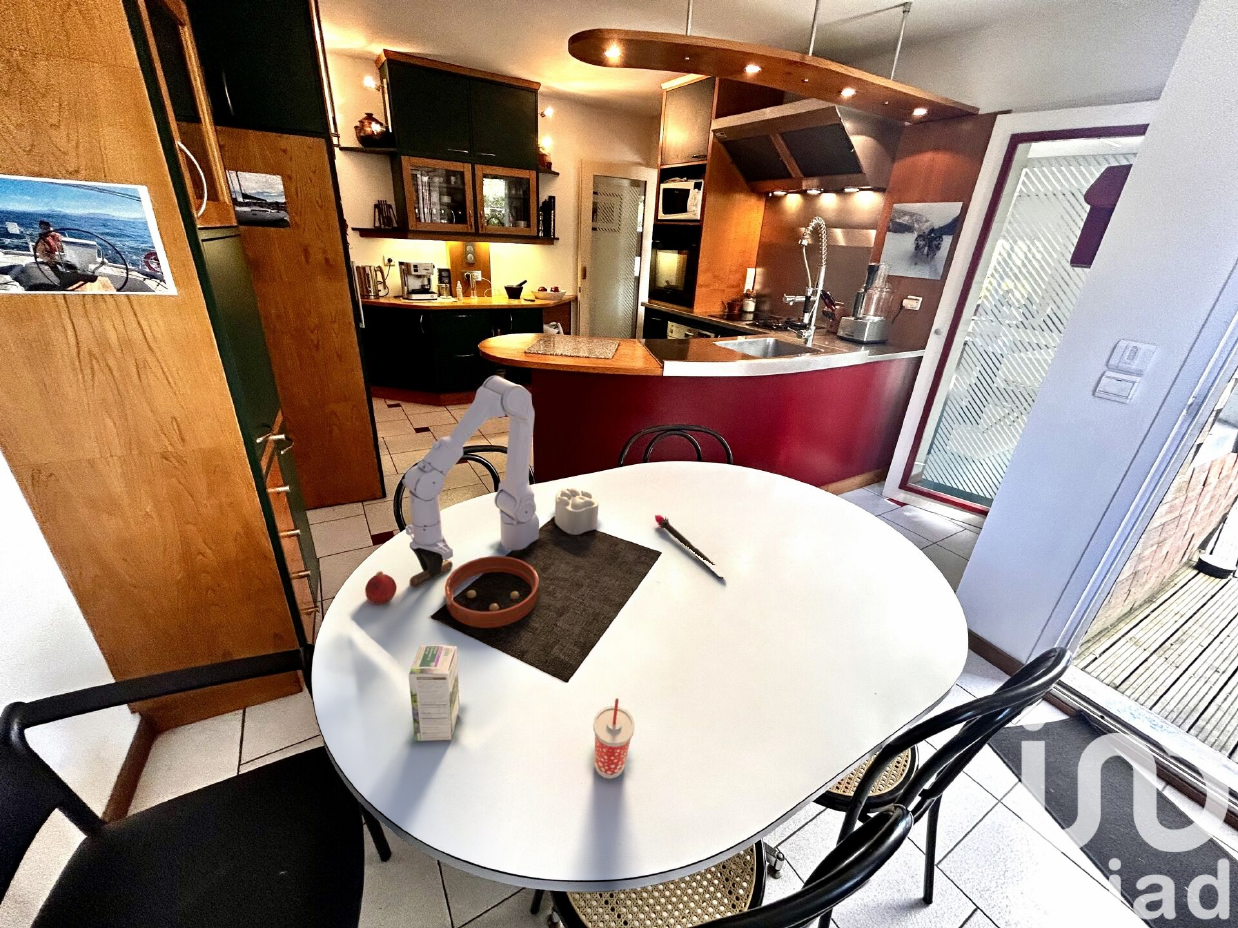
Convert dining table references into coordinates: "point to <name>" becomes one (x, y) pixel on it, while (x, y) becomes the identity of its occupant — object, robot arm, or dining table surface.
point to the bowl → (488, 566)
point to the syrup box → (434, 692)
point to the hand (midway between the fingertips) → (431, 571)
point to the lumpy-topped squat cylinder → (576, 511)
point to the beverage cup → (612, 739)
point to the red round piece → (380, 588)
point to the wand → (679, 536)
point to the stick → (426, 576)
